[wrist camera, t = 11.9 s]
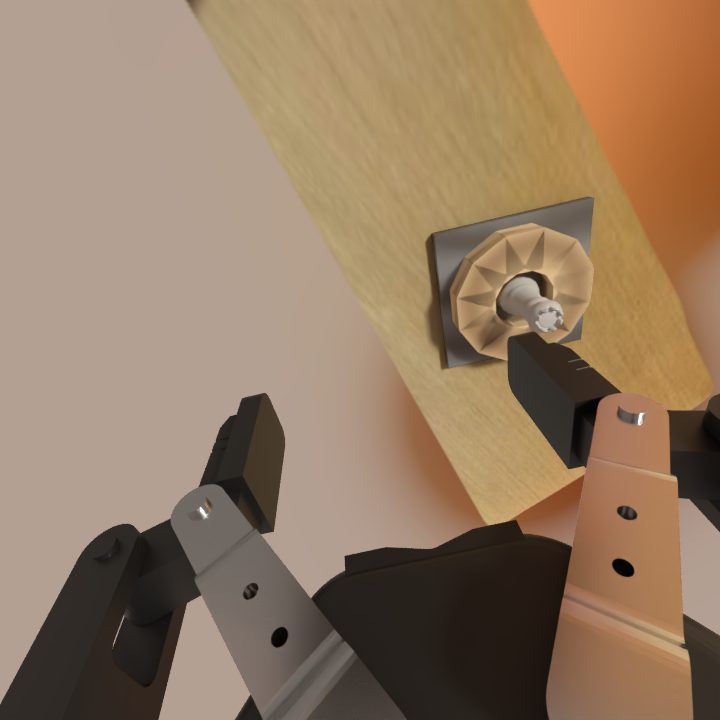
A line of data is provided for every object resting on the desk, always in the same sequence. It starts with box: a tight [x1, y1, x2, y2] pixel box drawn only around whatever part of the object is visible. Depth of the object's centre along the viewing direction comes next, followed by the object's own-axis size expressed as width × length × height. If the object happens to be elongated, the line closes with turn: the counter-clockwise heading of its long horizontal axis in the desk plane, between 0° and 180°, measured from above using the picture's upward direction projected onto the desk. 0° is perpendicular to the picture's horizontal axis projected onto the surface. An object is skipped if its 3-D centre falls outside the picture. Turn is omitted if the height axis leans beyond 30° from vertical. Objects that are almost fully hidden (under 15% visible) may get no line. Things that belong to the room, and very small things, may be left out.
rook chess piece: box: [496, 273, 564, 333], centre depth 38 cm, size 4×4×8 cm
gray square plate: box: [432, 197, 594, 368], centre depth 41 cm, size 16×16×4 cm
